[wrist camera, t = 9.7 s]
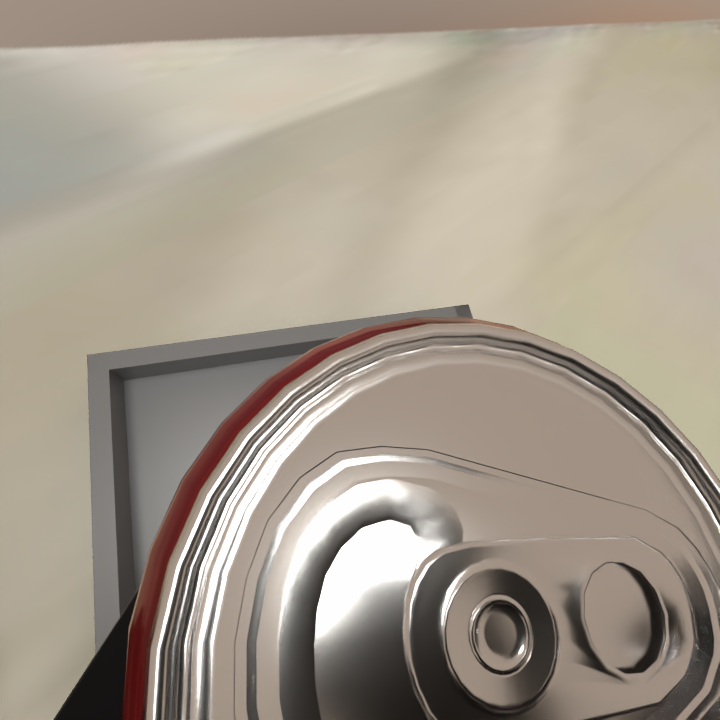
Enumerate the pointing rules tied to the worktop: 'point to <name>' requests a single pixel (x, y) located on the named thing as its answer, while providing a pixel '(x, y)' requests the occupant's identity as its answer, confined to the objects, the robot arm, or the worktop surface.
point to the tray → (172, 433)
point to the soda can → (435, 544)
